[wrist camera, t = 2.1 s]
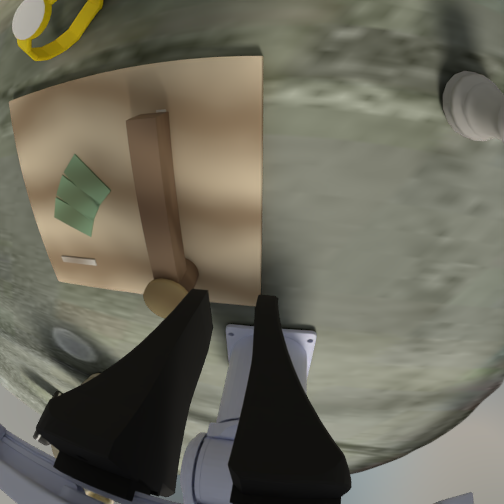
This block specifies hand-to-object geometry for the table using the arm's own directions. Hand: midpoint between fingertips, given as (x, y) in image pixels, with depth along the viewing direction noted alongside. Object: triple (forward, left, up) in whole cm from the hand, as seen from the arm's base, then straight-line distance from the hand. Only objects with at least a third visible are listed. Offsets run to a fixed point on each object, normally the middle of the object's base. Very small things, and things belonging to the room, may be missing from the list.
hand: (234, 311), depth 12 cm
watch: (+14, +12, -11) cm, 21 cm away
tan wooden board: (0, +10, -10) cm, 14 cm away
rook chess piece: (+8, -13, -11) cm, 19 cm away
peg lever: (-1, +6, -10) cm, 11 cm away
